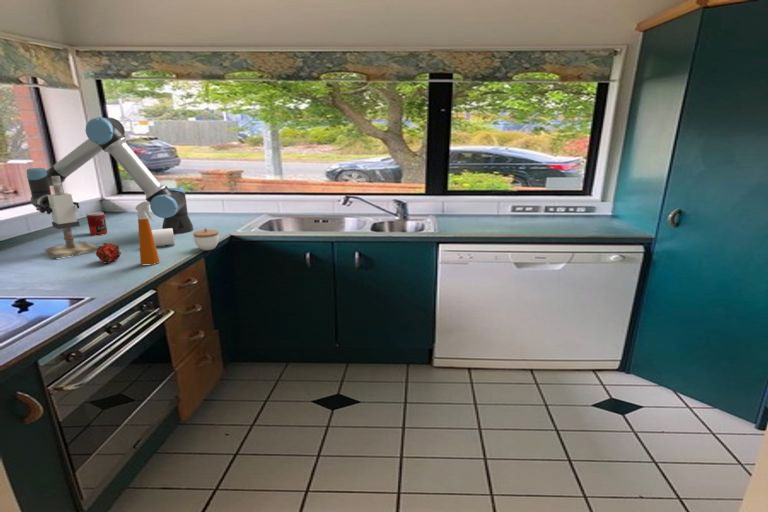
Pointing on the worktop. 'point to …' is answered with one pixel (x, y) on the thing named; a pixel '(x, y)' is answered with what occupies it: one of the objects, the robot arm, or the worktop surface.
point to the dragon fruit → (108, 252)
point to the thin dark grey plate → (65, 225)
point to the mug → (163, 237)
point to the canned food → (97, 223)
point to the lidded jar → (206, 239)
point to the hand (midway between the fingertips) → (66, 209)
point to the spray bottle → (146, 235)
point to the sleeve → (63, 208)
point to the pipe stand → (67, 234)
